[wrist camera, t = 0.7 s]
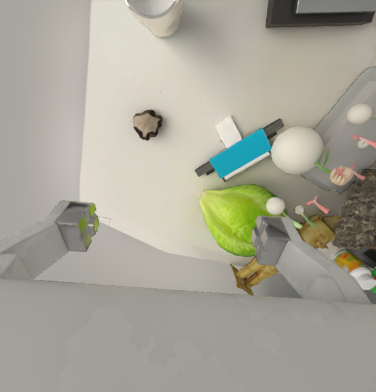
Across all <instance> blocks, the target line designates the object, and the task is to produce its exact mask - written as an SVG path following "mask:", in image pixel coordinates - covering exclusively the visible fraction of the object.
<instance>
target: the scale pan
mask: <svg viewBox="0 0 376 392" xmlns="http://www.w3.org/2000/svg"><path fill="white" fill-rule="evenodd" d="M375 11H376V0H296V2H295V8H294V15H295V14H337V13H372V12H375Z"/></svg>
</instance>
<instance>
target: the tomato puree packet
mask: <svg viewBox="0 0 376 392" xmlns="http://www.w3.org/2000/svg"><path fill="white" fill-rule="evenodd" d="M371 273H372V275H371V276H372V277H373V278H374V279H375V280H376V269H375V270H373V271H371ZM370 290H371V291H373V292H374V293H375V294H376V286H375V287H373V288H372V289H370Z"/></svg>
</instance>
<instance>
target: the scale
mask: <svg viewBox="0 0 376 392" xmlns="http://www.w3.org/2000/svg"><path fill="white" fill-rule="evenodd" d="M295 2H296V0H269V2H268V10H267V18H266V27H304V26H345V25H363V24H366V23H370V22H372V19H373V16H374V13H375V12H372V13H337V14H295V15H294V8H295Z"/></svg>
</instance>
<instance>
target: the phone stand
mask: <svg viewBox="0 0 376 392" xmlns="http://www.w3.org/2000/svg"><path fill="white" fill-rule="evenodd" d="M283 126H284V125H283V123H282V120H280V119H278V120H276V121H275V122H273V123H271V124H270V125H268V126H266V127H265V128H263V129H262V128H260V129H258V130H256V131H255V132H253V133H250V134H249V135H247V136H246V137H244V138H242V137H241V135H240V133H239V132H238V130H237V128H236V126H235V124H234V122H233V120H232V118H231V116H229V117H227V118H226V119H224V120H223V121H221V122H220V123H218V124H216V125H215V126H214V127H215V129H216V130H217V132H218V134H219V136H220V137H221V139H222V141H223V143H224V145H225V146H226V149H224V150H223V151H221V152H219V154H217V155H215V156H214V157H212V158H211V159H210V161H209V162H207V163H205V164H204V165H202V166H201V167H199V168H197V169H196V170H195V172H196V173H197V175H198V176H201V175H203V174H204V173H206V175H209V174H210V173H212V172H214V171H216V172H217V174H218V176H219V177H220V178H223V180H224V182H225V181H226V180H228V179H230V178H232V177H233V176H235V175H237V174H239V173H240V172H242V171H244V170H246V169H247V168H249V167H251V166H253V165H254V164H256V163H258V162H260V161H261V160H263V159H265V158H267V157H268V156H270V155H271V151H270V150H271V145H270V143H269V141H268V139H270V138H271V137H273V136H275V135H276V134H277V133H276V131H277V130H278V129H280V128H282V127H283Z"/></svg>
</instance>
